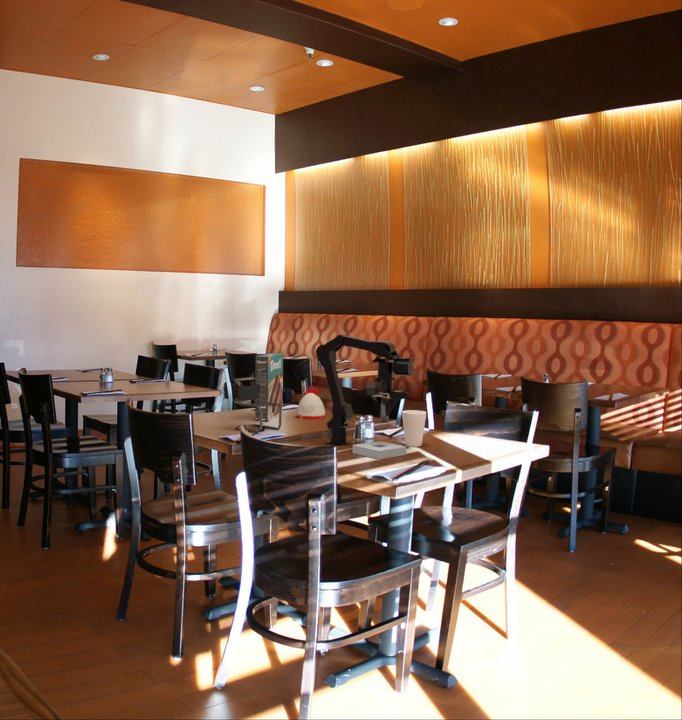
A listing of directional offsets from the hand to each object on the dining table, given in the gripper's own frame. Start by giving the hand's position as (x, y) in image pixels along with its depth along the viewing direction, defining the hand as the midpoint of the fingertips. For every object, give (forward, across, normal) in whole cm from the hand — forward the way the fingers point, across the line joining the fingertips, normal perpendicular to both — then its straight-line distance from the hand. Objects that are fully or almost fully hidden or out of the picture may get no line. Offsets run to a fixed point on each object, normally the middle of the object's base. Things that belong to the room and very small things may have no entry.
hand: (384, 415), depth 291 cm
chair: (+13, -62, -16) cm, 65 cm away
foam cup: (+13, +2, +14) cm, 19 cm away
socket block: (+12, +7, -9) cm, 17 cm away
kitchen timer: (+13, -76, +26) cm, 82 cm away
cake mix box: (+13, -86, +8) cm, 87 cm away
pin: (+2, 0, 0) cm, 2 cm away
